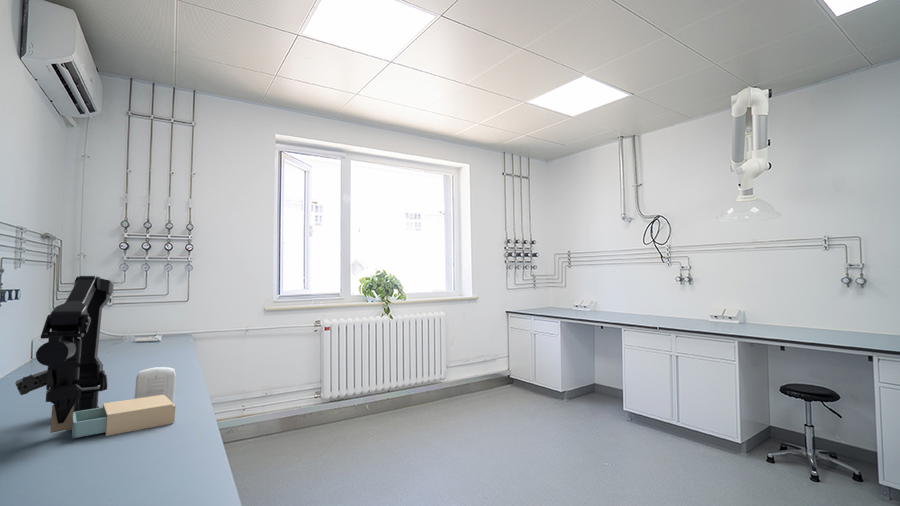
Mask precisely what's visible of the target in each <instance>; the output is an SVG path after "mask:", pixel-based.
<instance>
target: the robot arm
mask: <svg viewBox="0 0 900 506" xmlns="http://www.w3.org/2000/svg"><path fill="white" fill-rule="evenodd" d="M113 293H114V283H113V282H112V281H111V280H109V279H105V278H101V277H100V276H97V275H78V276H76V278H75V280H74V284H73V287H72V290H71V291H70V293H69V295H68V297H67V299H66V300H65V302H64V303H61V304H59V305H57V306H55V307H54V308H53V310H52V311H51V312H50V314H48V315H46V320H45V322H44V325H43V329H42V331H41V334H40V339H41V340H42V339H47V340H48V341H47V342H45V343H43V344H42V345H40V346H39V347H38V348H37V351H35V358H36V360H37V362H38V363H39V364H41V365H42V366H46V367H47V369H46V370H43V371H40V372H36V373H34V374H29V375H28V376H23V377H22V378H20V379H18V380H16V381H15V386H16V388H17V390H18V394H20V396H23V395H27V394H29V393H30V392H32V391H35V390H38V389H40V388H43V387H46V389H45V390H46V392H45V393H46V394H45V403H51V404H52V405H54V406H55V411H56V417H57V422H58V424H60V423H64V421H65V419H66V418H67V416H68V414H69V412H70V410H71V409H72V407H73V405H74V410H73V412H76V411H83V410H89V409H96V408H100V406H99V392H104V391H106V390H108V376H107V374H106V372H105V370H104V364H103V362H102V361H101V360H100V358H99V357H98V353H99V343H100V334H101V333H100V332H101V323H102V314H103V308H104V307H105V306H106V305H107V304H108V302H110V299H111V295H113Z"/></svg>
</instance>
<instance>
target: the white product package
mask: <svg viewBox="0 0 900 506" xmlns="http://www.w3.org/2000/svg"><path fill="white" fill-rule="evenodd" d="M176 374H177V373H176V371H175V368H172V367H168V366H157V367H150V368H145V369H142V370H140V371H138V374H137V375H136V379H135V388H134V389H135V391H134V399H136V398H143V397H150V396H157V395H164V396H166V397H167V398H168V399H169V400H170V401H171V402H172V403H173V404H174V405H175V398H176V397H175V395H176V394H175V393H176V384H177V383H176V381H177V375H176Z"/></svg>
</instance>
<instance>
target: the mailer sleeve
mask: <svg viewBox="0 0 900 506" xmlns="http://www.w3.org/2000/svg"><path fill="white" fill-rule="evenodd" d="M103 407H104V409H105V412H106V414H107V427H106V432H104V433H105V436H106V437H108V436H113V435H118V434H124V433H130V432H134V431H140V430H145V429H150V428H156V427H160V426H161V427H162V426H167V425H171V424H173V423H174V422H175V417H176V405H175V403H174V404H173V403H172V402H171V401H170V400H169V399H168V398H167V397H166V396H164V395H157V396H150V397H143V398H136V399H135V398H129V399H124V400H117V401H111V402H103V403H102V408H103Z"/></svg>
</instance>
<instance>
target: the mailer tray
mask: <svg viewBox="0 0 900 506" xmlns="http://www.w3.org/2000/svg"><path fill="white" fill-rule="evenodd" d="M73 410H74V405H73V407H72V409H71V410H70V412H69V414H68V416H67V418H66V419H65V421H64V423H60V424H58V422H57V417H56V411H55V406H54V404H52V405H51V418H50V419H51V420H50V434H53V433H58V432H63V431H70V430H71V438H72V439H77V438H81V437H87V436H92V435H98V434H103V433H105V432H106V427H107V414H106V412H105V409H104V407H103V406H102V407H99V408H96V409H89V410H83V411H76V412H73Z"/></svg>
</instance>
